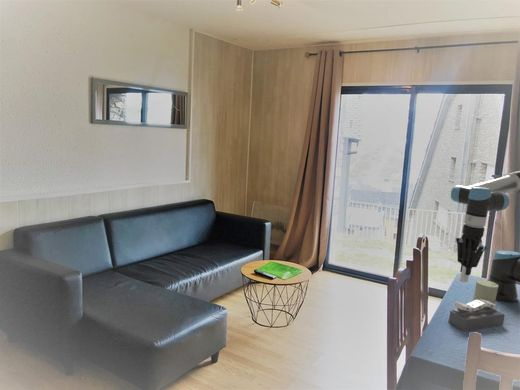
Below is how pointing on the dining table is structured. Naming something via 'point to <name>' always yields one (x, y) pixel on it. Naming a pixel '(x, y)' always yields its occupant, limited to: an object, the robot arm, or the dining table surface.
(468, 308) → the rocker
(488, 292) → the can
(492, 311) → the rocker switch panel
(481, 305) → the rocker
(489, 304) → the rocker
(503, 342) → the dining table surface
